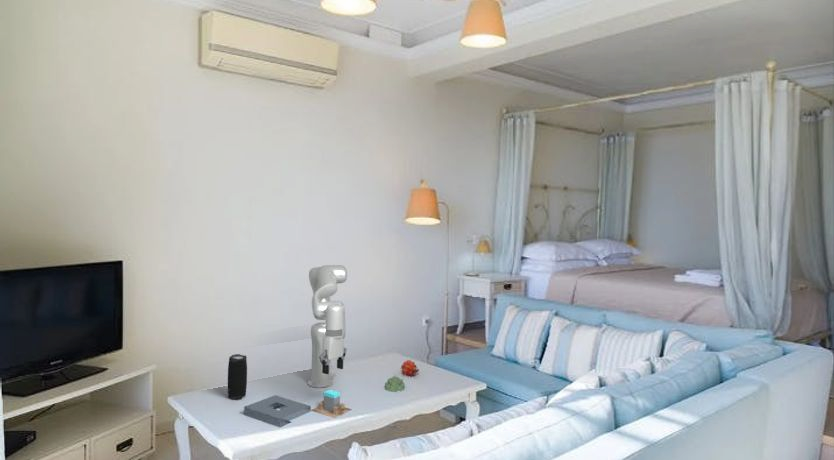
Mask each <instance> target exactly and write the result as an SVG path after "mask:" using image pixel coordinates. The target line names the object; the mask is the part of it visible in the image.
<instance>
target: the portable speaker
mask: <svg viewBox="0 0 834 460" xmlns="http://www.w3.org/2000/svg"><path fill="white" fill-rule="evenodd" d="M247 358H248V357H247V355H242V354H241V353H236V354H232V355H230V356H229V358H228V366H227V395H228V398H229V399H230V398H231V399H232V400H233V401H238V400H243V398H244V397H246V394H247V383H248V363H247V361H248V360H247Z"/></svg>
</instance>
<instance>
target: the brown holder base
mask: <svg viewBox="0 0 834 460" xmlns="http://www.w3.org/2000/svg"><path fill="white" fill-rule="evenodd" d="M323 406H324V400H322V401H320V402H318V407H315V408H313V409H311V412H314V413H317V414H321V415H324V416H327V417H331V418H333V419H335V418H338V417H339V416H343V415H345V414H346V413H348V412H351V411H352V410H353V409H352V408H348V407H346V403H343V402H342V403H341V402H340V404H339V405H337V406H335V407H333V413H332V412H329V411H326V410H323Z"/></svg>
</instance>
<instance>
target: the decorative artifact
mask: <svg viewBox="0 0 834 460" xmlns="http://www.w3.org/2000/svg"><path fill="white" fill-rule="evenodd" d="M404 388H406V385H405V382H404V380H403V379H402V378H400V377H399V376H396V374H394V376H392V377H390V378H388V379H387V381H386V382H385V383H384V390H386V391H387V392H391V393H392V392H393V393H398V392H397V391H400V392H403V391H405V389H404ZM402 390H403V391H402Z"/></svg>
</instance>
